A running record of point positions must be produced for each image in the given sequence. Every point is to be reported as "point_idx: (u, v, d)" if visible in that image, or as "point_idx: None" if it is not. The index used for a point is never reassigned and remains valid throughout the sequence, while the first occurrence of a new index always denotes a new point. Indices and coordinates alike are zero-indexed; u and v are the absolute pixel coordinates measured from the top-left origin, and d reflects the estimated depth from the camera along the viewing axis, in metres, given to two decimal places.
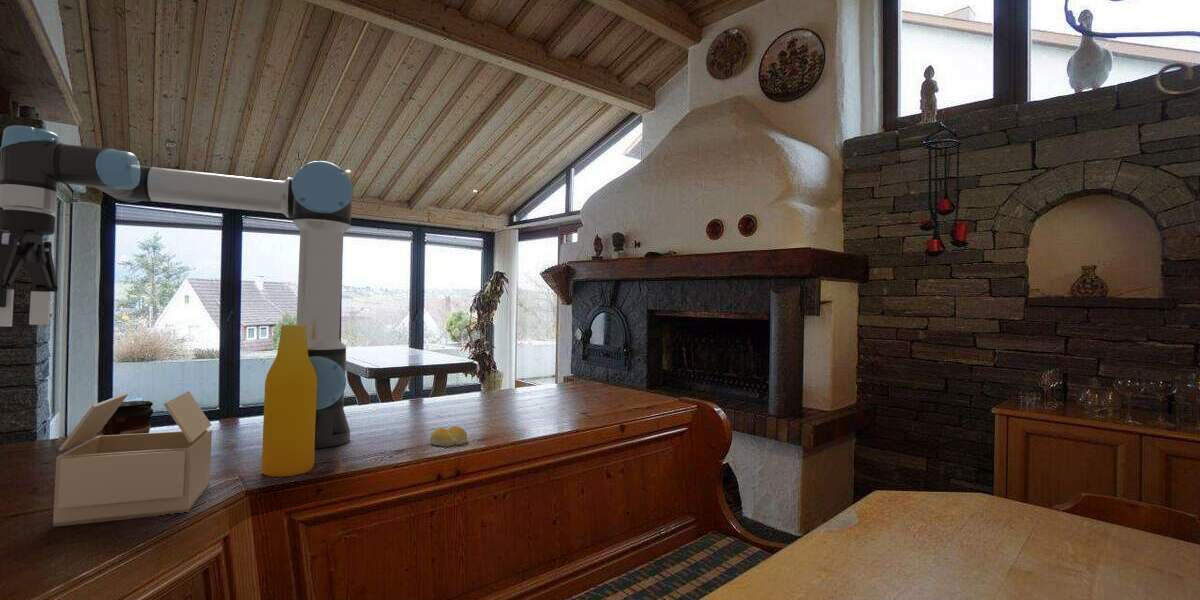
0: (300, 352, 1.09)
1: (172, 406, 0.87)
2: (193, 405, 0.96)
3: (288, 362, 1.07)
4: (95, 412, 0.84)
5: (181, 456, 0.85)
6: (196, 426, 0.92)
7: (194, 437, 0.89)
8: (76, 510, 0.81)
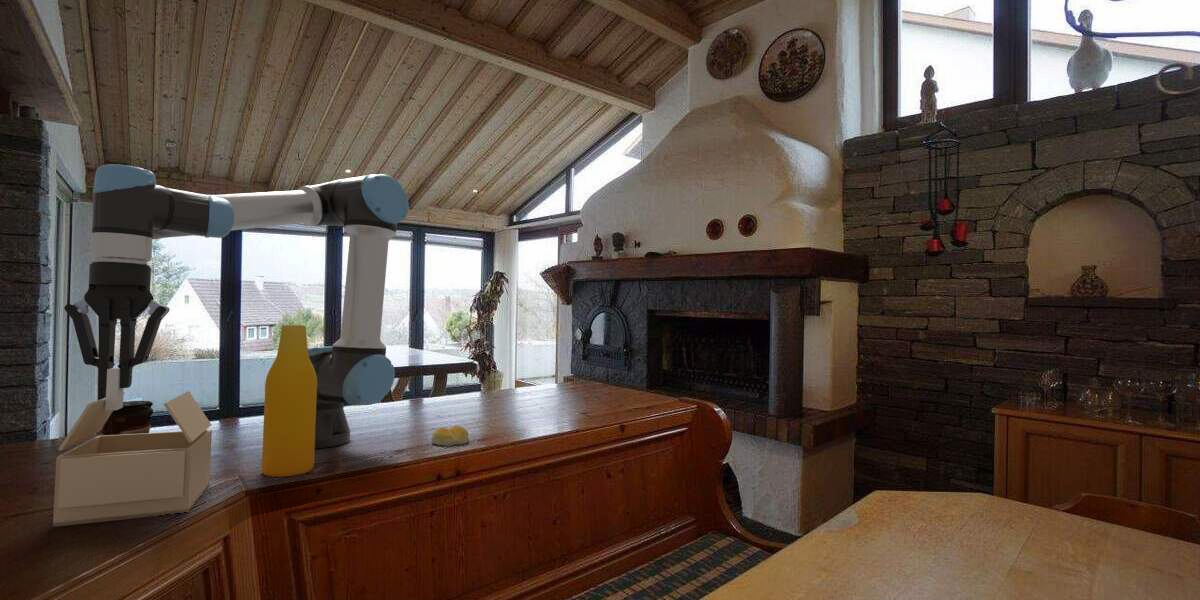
0: (300, 352, 1.09)
1: (172, 406, 0.87)
2: (193, 405, 0.96)
3: (288, 362, 1.08)
4: (92, 411, 0.84)
5: (181, 456, 0.85)
6: (196, 426, 0.92)
7: (194, 437, 0.89)
8: (76, 510, 0.81)
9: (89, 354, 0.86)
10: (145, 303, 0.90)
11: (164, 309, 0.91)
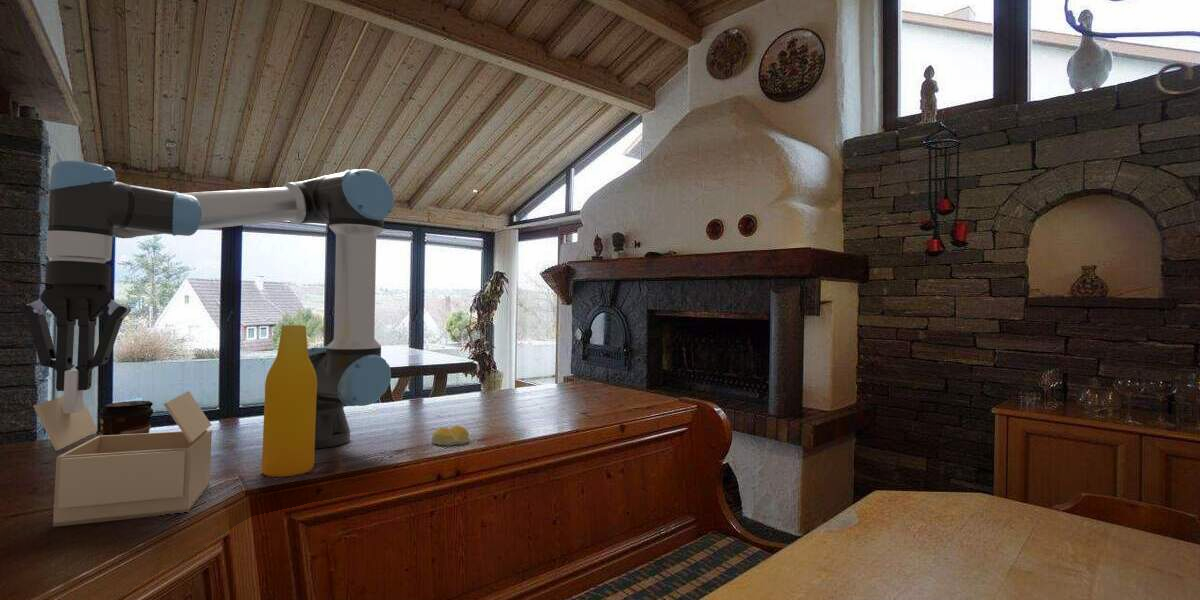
0: (300, 352, 1.09)
1: (172, 406, 0.87)
2: (193, 405, 0.96)
3: (288, 362, 1.08)
4: (49, 410, 0.82)
5: (181, 456, 0.85)
6: (196, 426, 0.92)
7: (194, 437, 0.89)
8: (76, 510, 0.81)
9: (46, 355, 0.84)
10: (104, 303, 0.87)
11: (124, 309, 0.88)
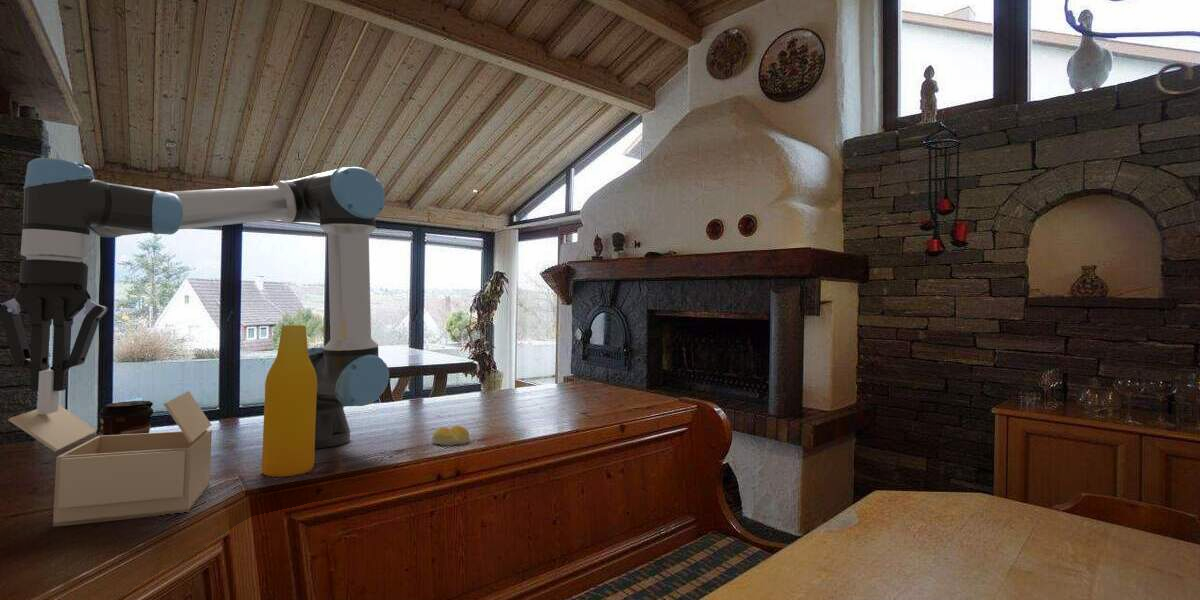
0: (300, 352, 1.09)
1: (172, 406, 0.87)
2: (193, 405, 0.96)
3: (288, 362, 1.08)
4: (29, 421, 0.81)
5: (181, 456, 0.85)
6: (196, 426, 0.92)
7: (194, 437, 0.89)
8: (76, 510, 0.81)
9: (20, 356, 0.83)
10: (80, 302, 0.86)
11: (101, 309, 0.87)
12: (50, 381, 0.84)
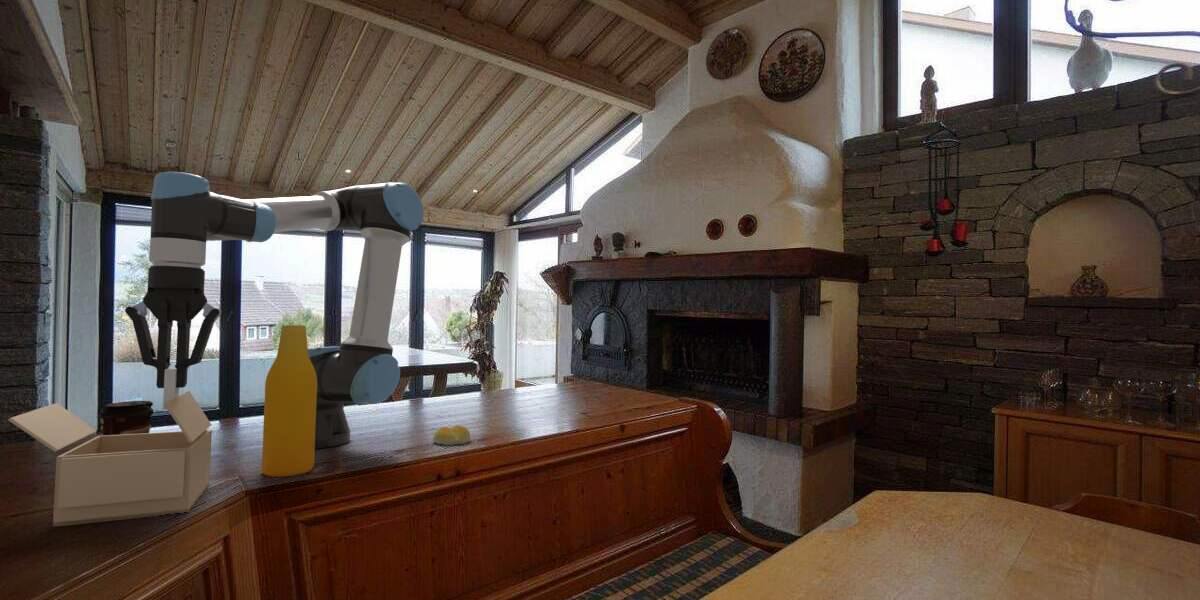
0: (300, 352, 1.09)
1: (172, 406, 0.87)
2: (193, 405, 0.97)
3: (288, 362, 1.08)
4: (28, 421, 0.81)
5: (181, 456, 0.85)
6: (196, 426, 0.92)
7: (194, 437, 0.89)
8: (76, 510, 0.81)
9: (148, 355, 0.90)
10: (200, 306, 0.93)
11: (218, 311, 0.94)
12: (174, 378, 0.91)
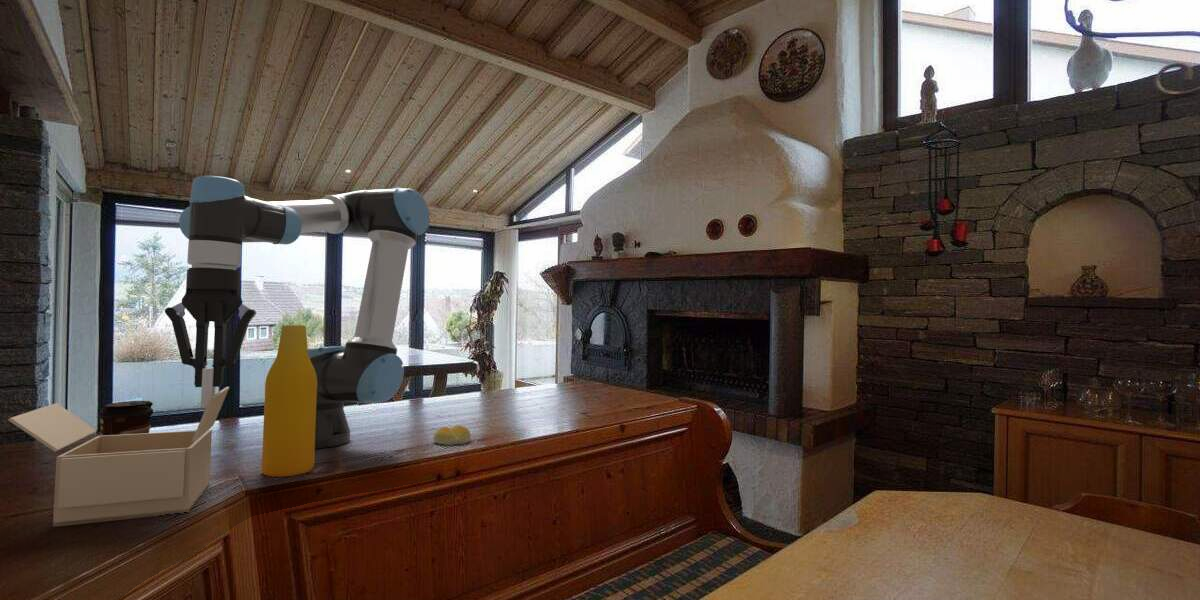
0: (300, 352, 1.09)
1: (212, 402, 0.90)
2: (220, 402, 0.98)
3: (288, 362, 1.08)
4: (28, 421, 0.81)
5: (181, 456, 0.85)
6: (206, 426, 0.93)
7: (198, 437, 0.89)
8: (76, 510, 0.81)
9: (186, 354, 0.92)
10: (236, 306, 0.95)
11: (253, 312, 0.96)
12: (211, 378, 0.93)
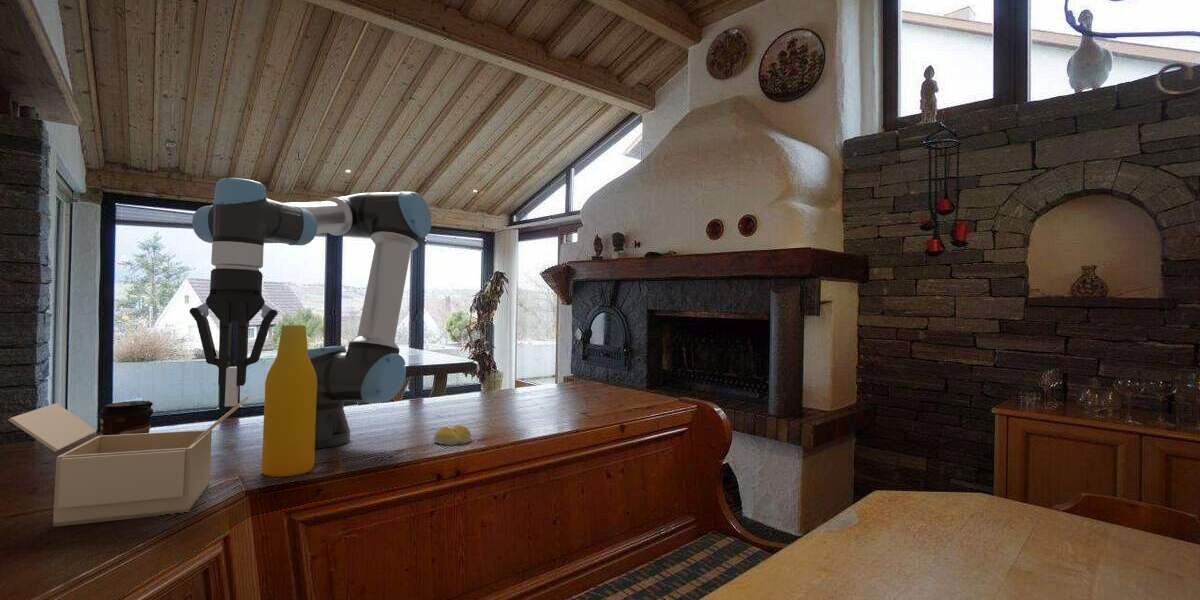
0: (300, 352, 1.09)
1: None
2: None
3: (288, 362, 1.08)
4: (28, 421, 0.81)
5: (181, 456, 0.85)
6: None
7: None
8: (76, 510, 0.81)
9: (210, 354, 0.93)
10: (259, 307, 0.96)
11: (275, 312, 0.97)
12: (235, 377, 0.94)
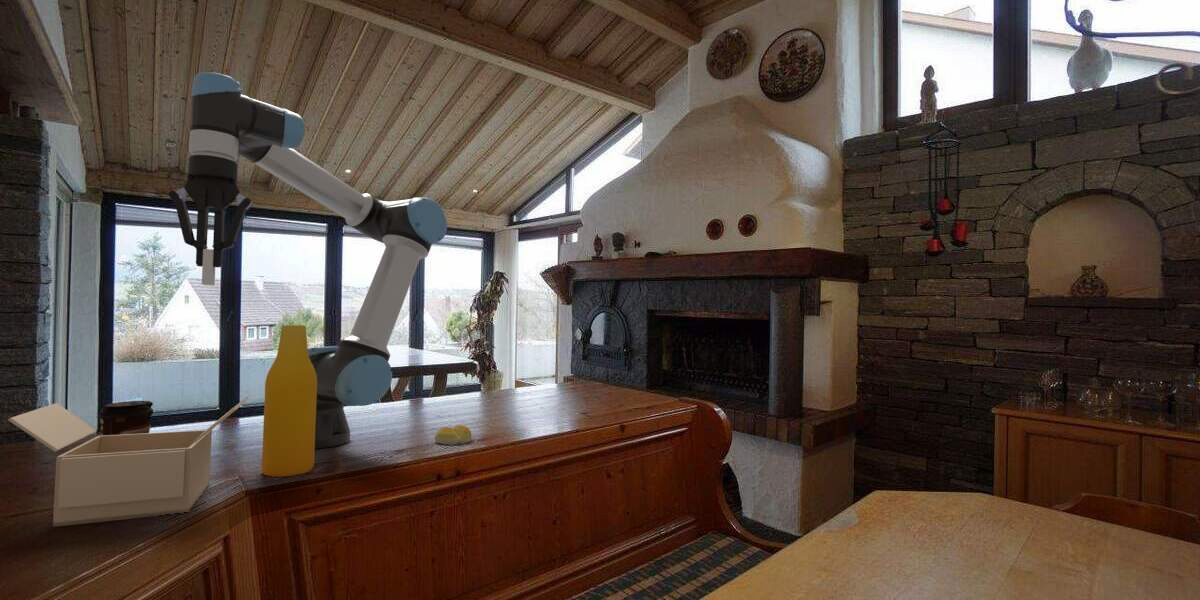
0: (300, 352, 1.09)
1: None
2: None
3: (288, 362, 1.08)
4: (28, 421, 0.81)
5: (181, 456, 0.85)
6: None
7: None
8: (76, 510, 0.81)
9: (188, 235, 1.00)
10: (234, 194, 1.04)
11: (249, 201, 1.04)
12: (211, 258, 1.02)
